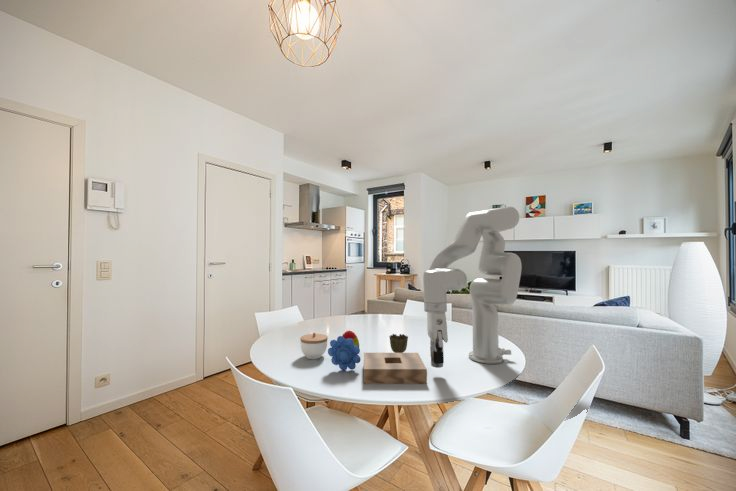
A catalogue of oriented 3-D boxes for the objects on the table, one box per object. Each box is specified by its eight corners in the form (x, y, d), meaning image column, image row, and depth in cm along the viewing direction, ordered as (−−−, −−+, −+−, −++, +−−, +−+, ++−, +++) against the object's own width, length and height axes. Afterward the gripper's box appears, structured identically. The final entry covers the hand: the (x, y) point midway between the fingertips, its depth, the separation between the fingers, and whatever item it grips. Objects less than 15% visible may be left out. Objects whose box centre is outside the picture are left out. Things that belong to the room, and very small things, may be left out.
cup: (407, 353, 124) (407, 333, 125) (408, 359, 117) (408, 338, 117) (389, 352, 125) (389, 333, 125) (389, 358, 118) (389, 338, 118)
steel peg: (441, 362, 104) (440, 339, 104) (444, 367, 100) (443, 343, 100) (429, 363, 104) (429, 340, 104) (432, 367, 100) (432, 343, 100)
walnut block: (417, 365, 111) (417, 352, 111) (426, 383, 95) (426, 369, 95) (363, 364, 111) (363, 352, 111) (363, 383, 95) (363, 369, 95)
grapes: (325, 375, 102) (326, 339, 102) (328, 367, 108) (328, 334, 109) (360, 375, 101) (360, 339, 102) (360, 367, 108) (360, 334, 109)
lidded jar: (327, 351, 126) (327, 329, 126) (327, 360, 115) (328, 336, 116) (300, 353, 124) (301, 330, 124) (299, 362, 114) (299, 337, 114)
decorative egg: (355, 351, 126) (356, 327, 126) (361, 358, 118) (361, 332, 119) (336, 353, 123) (337, 329, 124) (341, 360, 116) (341, 334, 116)
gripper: (453, 311, 94) (455, 370, 94) (440, 301, 110) (441, 351, 110) (429, 312, 94) (431, 371, 94) (419, 302, 110) (421, 352, 110)
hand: (436, 359), depth 102 cm, fingers closed on steel peg, 4 cm apart
